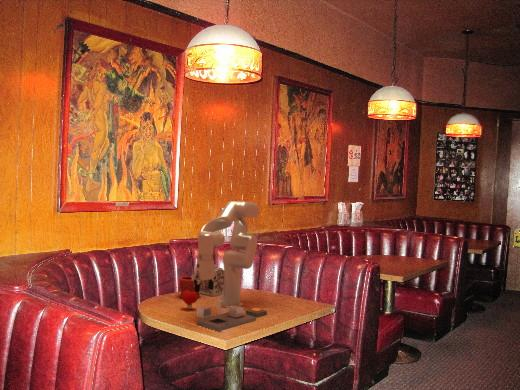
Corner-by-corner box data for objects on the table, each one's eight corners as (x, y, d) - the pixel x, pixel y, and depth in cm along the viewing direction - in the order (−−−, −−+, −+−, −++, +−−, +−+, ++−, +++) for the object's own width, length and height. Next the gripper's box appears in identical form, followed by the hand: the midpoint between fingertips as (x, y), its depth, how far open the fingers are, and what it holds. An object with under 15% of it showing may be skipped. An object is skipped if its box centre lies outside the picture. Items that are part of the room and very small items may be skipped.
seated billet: (229, 319, 261) (229, 307, 261) (235, 317, 265) (236, 305, 265) (236, 321, 258) (236, 309, 258) (242, 319, 262) (243, 307, 261)
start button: (250, 313, 272) (250, 309, 271) (255, 312, 275) (255, 307, 275) (256, 315, 269) (256, 310, 269) (261, 314, 272) (262, 309, 272)
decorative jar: (212, 296, 311) (213, 267, 310) (199, 293, 319) (200, 264, 318) (226, 293, 320) (226, 265, 319) (213, 290, 328) (213, 262, 327)
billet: (196, 319, 263) (197, 307, 263) (203, 317, 267) (204, 305, 267) (203, 321, 260) (203, 309, 260) (210, 319, 264) (210, 307, 263)
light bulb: (199, 308, 282) (200, 291, 282) (193, 311, 276) (193, 293, 276) (185, 306, 286) (186, 288, 286) (178, 309, 280) (179, 291, 279)
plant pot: (204, 298, 306) (205, 278, 305) (184, 301, 299) (185, 280, 298) (195, 293, 317) (195, 274, 316) (175, 296, 310) (176, 276, 309)
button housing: (245, 316, 271) (245, 310, 271) (255, 313, 277) (255, 307, 277) (256, 319, 266) (256, 313, 266) (266, 316, 272) (266, 310, 272)
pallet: (196, 325, 252) (197, 320, 252) (233, 315, 272) (233, 310, 272) (219, 332, 241) (219, 327, 241) (255, 322, 261) (256, 317, 261)
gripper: (197, 259, 253) (196, 294, 253) (222, 257, 266) (221, 289, 266) (187, 257, 258) (186, 291, 258) (212, 255, 271) (211, 287, 271)
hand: (203, 290), depth 262 cm, fingers open, 9 cm apart
